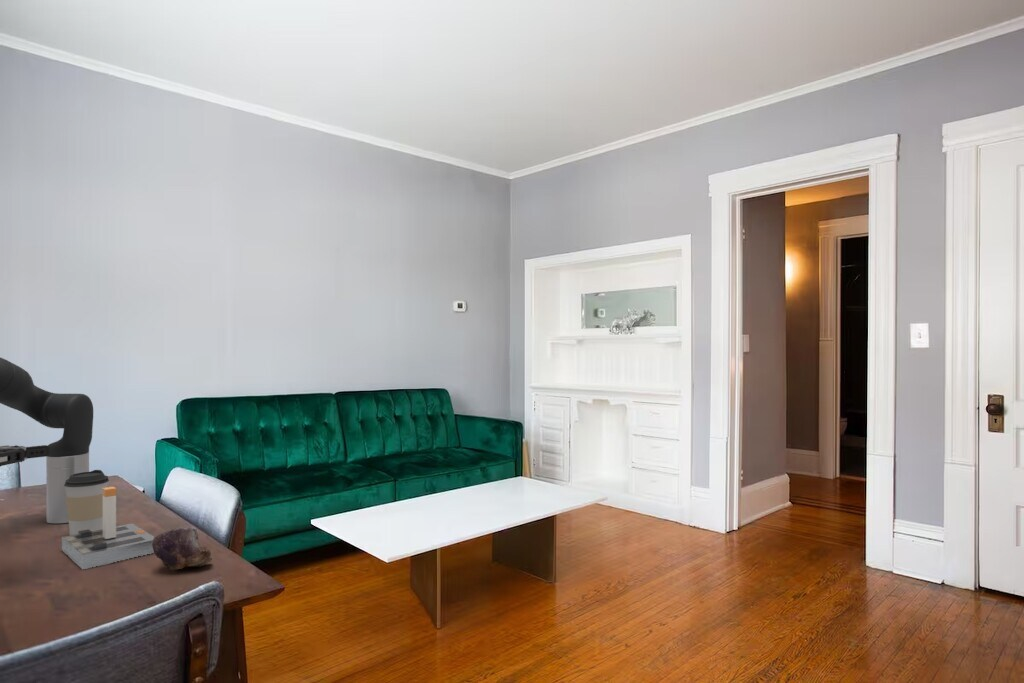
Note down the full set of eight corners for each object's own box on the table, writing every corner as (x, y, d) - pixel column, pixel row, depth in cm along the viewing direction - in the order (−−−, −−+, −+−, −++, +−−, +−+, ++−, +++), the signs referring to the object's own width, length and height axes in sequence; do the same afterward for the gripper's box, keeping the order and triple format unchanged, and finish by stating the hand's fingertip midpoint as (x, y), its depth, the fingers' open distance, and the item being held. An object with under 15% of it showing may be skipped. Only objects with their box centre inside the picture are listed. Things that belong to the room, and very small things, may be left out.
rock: (195, 561, 135) (144, 572, 128) (194, 520, 136) (143, 529, 129) (217, 565, 127) (164, 577, 120) (215, 522, 128) (162, 532, 121)
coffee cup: (86, 540, 145) (86, 477, 145) (54, 538, 147) (54, 475, 147) (118, 529, 154) (117, 469, 154) (87, 527, 156) (87, 468, 156)
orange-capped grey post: (102, 536, 138) (102, 488, 138) (113, 534, 139) (113, 486, 139) (105, 539, 136) (105, 489, 136) (116, 537, 138) (116, 488, 138)
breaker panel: (61, 550, 139) (61, 532, 139) (132, 535, 149) (132, 519, 149) (82, 569, 126) (82, 550, 126) (157, 552, 137) (157, 534, 137)
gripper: (-61, 446, 112) (55, 435, 125) (-68, 439, 122) (41, 429, 134) (-61, 487, 112) (55, 472, 125) (-68, 477, 121) (42, 464, 134)
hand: (48, 450), depth 130 cm, fingers closed
